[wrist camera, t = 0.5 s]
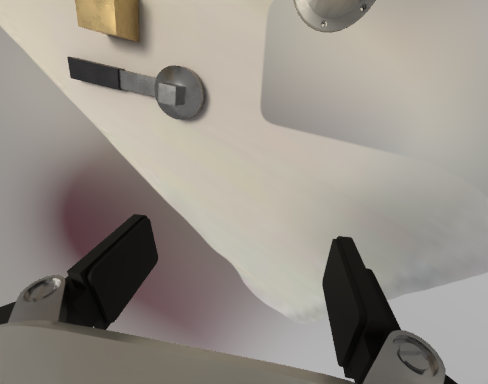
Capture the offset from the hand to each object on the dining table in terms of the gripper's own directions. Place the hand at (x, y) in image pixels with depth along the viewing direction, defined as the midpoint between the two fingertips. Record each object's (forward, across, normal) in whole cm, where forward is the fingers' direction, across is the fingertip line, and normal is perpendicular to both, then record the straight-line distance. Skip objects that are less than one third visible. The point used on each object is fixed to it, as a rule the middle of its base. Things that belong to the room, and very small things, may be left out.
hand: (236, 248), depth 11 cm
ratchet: (+35, +26, -8) cm, 44 cm away
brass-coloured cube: (+35, +27, -18) cm, 48 cm away
